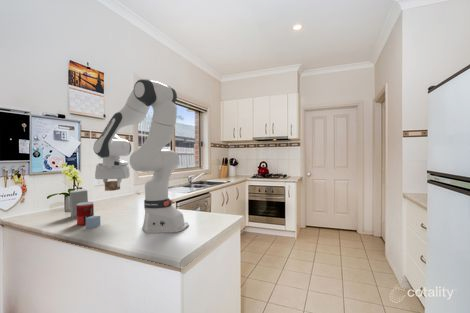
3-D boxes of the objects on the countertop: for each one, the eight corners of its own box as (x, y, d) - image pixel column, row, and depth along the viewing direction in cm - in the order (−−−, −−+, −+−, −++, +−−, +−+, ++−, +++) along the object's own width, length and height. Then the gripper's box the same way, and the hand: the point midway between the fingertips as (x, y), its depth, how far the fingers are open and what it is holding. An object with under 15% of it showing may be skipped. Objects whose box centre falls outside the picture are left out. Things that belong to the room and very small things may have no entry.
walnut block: (120, 189, 133) (119, 180, 133) (113, 190, 128) (113, 181, 128) (112, 189, 134) (111, 180, 134) (104, 190, 129) (104, 181, 129)
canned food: (85, 226, 119) (85, 205, 119) (72, 225, 120) (72, 204, 120) (97, 221, 126) (96, 201, 126) (85, 221, 128) (84, 201, 128)
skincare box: (85, 213, 145) (85, 188, 145) (88, 215, 140) (88, 189, 140) (69, 216, 139) (69, 190, 139) (72, 218, 134) (71, 191, 134)
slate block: (100, 225, 120) (100, 216, 119) (93, 228, 115) (93, 218, 115) (93, 225, 120) (92, 215, 120) (85, 227, 116) (85, 218, 116)
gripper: (91, 163, 130) (92, 187, 130) (123, 162, 126) (124, 187, 126) (100, 163, 136) (101, 186, 136) (130, 162, 132) (131, 185, 132)
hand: (112, 186), depth 131 cm, fingers closed on walnut block, 5 cm apart
